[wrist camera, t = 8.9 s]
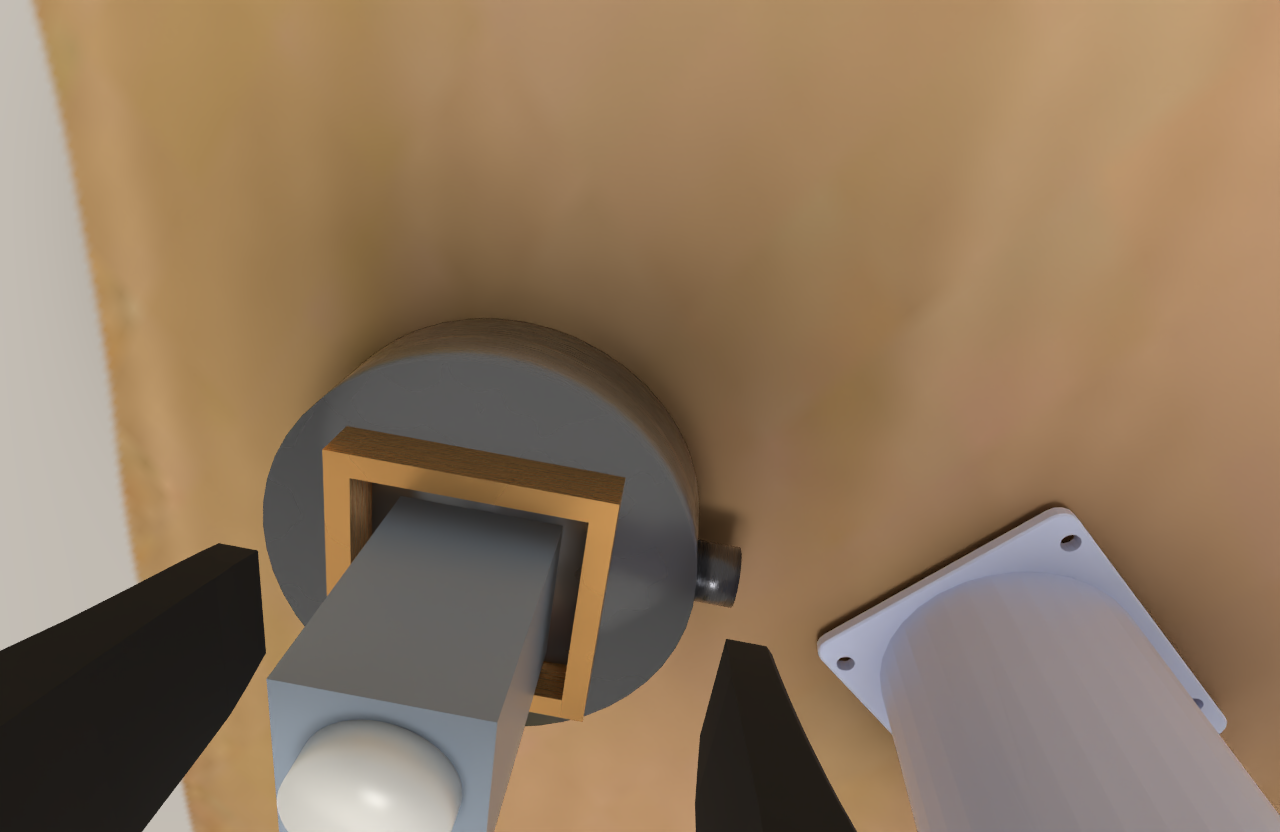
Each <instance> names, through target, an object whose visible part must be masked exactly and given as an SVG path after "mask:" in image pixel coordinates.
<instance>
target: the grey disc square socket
mask: <svg viewBox="0 0 1280 832" xmlns="http://www.w3.org/2000/svg"><path fill="white" fill-rule="evenodd" d="M400 496H403V497H409V498H414V499H419V500H425V501H430V502H436V503H441V504H446V505H452V506H457V507H463V508H468V509H473V510H479V511H484V512H490V513H495V514H500V515H506V516H511V517H517V518H522V519H528V520H533V521H538V522H544V523H549V524H555V525H560V526H563V531H562V538H561V546H560V554H559V561H558V569H557V576H556V584H555V591H554V599H553V606H552V614H551V621H550V629H549V637H548V644H547V651H546V655H545V658H544V662H543V665H542V669H541V672H540V675H539V679H538V682H537V686H536V689H535V693H534V696H533V699H532V703H531V706H530V710H529V713H528V717H527V720H526V723H525V726H538V725H545V724H552V723H558V722H564V721H568V720H575V721H580V722H582V721H583V716H586V715H588V714H591V713H593V712H596V711H598V710H601V709H603V708H606V707H608V706H610V705H612V704H614V703H615V702H617V701H619V700H621V699H623V698H624V697H626V696H628V695H629V694H631V693H632V692H633V691H635V690H636V689H637V688H639V687H640V686H641V685H643V684H644V683H645V682H647V681H648V680H649V679H650V678H651V677H652V676H653V675H654V674H655V673H656V672H657V671H658V670H659V669H660V668H661V667H662V666H663V664H664V663H665V661H666V660H667V659H668V657H669V656H670V655H671V653H672V652H673V651H674V649H675V648H676V646H677V644H678V642H679V640H680V638H681V636H682V634H683V632H684V630H685V629H686V626H687V623H688V620H689V617H690V614H691V610H692V607H693V602H694V601H697V602H703V603H708V604H713V605H719V606H724V607H729V608H731V607H732V606H733V603H734V601H735V597H736V593H737V589H738V584H739V578H740V571H741V558H742V553H741V548H740V547H734V546H729V545H724V544H718V543H713V542H708V541H702V540H698V533H699V491H698V485H697V479H696V473H695V469H694V466H693V463H692V460H691V457H690V453H689V450H688V448H687V446H686V444H685V442H684V440H683V437H682V435H681V433H680V431H679V429H678V427H677V426H676V424H675V423H674V421H673V420H672V418H671V417H670V415H669V413H668V412H667V410H666V409H665V407H664V406H663V405H662V404H661V402H660V401H659V400H658V399H657V398H656V397H655V396H654V394H653V393H652V392H651V391H650V390H649V389H648V387H647V386H646V385H645V384H643V383H642V382H641V381H640V380H639V379H638V378H637V377H636V376H635V375H633V374H632V373H631V372H630V371H629V370H628V369H627V368H625V367H624V366H623V365H621V364H620V363H618V362H617V361H615V360H614V359H612V358H611V357H610V356H608V355H607V354H605V353H604V352H602V351H600V350H598V349H596V348H595V347H593V346H591V345H589V344H587V343H585V342H583V341H581V340H579V339H577V338H575V337H572V336H569V335H567V334H564V333H561V332H559V331H556V330H553V329H550V328H546V327H542V326H538V325H534V324H530V323H526V322H520V321H511V320H503V319H466V320H459V321H452V322H445V323H440V324H437V325H433V326H430V327H426V328H423V329H419V330H417V331H414V332H412V333H410V334H408V335H406V336H403V337H401V338H399V339H397V340H395V341H393V342H392V343H390V344H388V345H387V346H385V347H384V348H382V349H381V350H379V351H378V352H376V353H375V354H373V355H372V356H371V357H370V358H369V359H368V360H366V361H365V362H364V363H363V364H362V365H360V366H359V367H358V368H357V369H356V370H355V371H353V372H352V373H351V374H350V375H349V376H347V377H346V378H345V379H344V380H343V381H341V382H340V383H339V384H338V385H337V386H336V387H334V388H333V389H332V390H331V391H330V392H328V393H327V394H326V395H325V396H324V397H323V398H321V399H320V400H319V401H318V402H317V403H316V404H315V405H314V406H312V407H311V408H310V409H309V410H308V411H307V412H306V413H305V414H303V415H302V416H301V418H300V419H299V420H298V421H297V423H296V424H295V425H294V426H293V428H292V429H291V430H290V431H289V433H288V434H287V435H286V437H285V439H284V441H283V443H282V444H281V446H280V448H279V450H278V452H277V453H276V455H275V458H274V460H273V463H272V466H271V469H270V472H269V475H268V478H267V483H266V489H265V495H264V501H263V527H264V534H265V541H266V547H267V552H268V555H269V558H270V562H271V565H272V568H273V572H274V574H275V576H276V578H277V581H278V583H279V585H280V587H281V590H282V592H283V594H284V596H285V597H286V599H287V601H288V602H289V604H290V606H291V607H292V609H293V611H294V612H295V614H296V616H297V617H298V618H299V619H300V621H301V622H302V623H303V625H304V626H306V625H307V623H308V622H309V620H310V619H311V618H312V616H313V615H314V614H315V612H316V611H317V610H318V608H319V607H320V605H321V604H322V603H323V601H324V600H325V599H326V597H327V596H328V595H329V593H330V592H331V590H332V589H333V588H334V586H335V585H336V584H337V582H338V581H339V580H340V578H341V577H342V575H343V574H344V573H345V571H346V570H347V569H348V567H349V566H350V565H351V563H352V562H353V560H354V559H355V558H356V556H357V555H358V554H359V552H360V551H361V550H362V548H363V547H364V545H365V544H366V543H367V541H368V540H369V539H370V537H371V536H372V535H373V533H374V532H375V530H376V529H377V528H378V526H379V525H380V524H381V522H382V521H383V520H384V518H385V517H386V515H387V514H388V513H389V511H390V510H391V509H392V507H393V506H394V505H395V503H396V502H397V500H398V499H399V498H400Z"/></svg>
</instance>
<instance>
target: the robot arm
mask: <svg viewBox="0 0 1280 832" xmlns="http://www.w3.org/2000/svg"><path fill="white" fill-rule="evenodd" d="M1069 535H1075V536H1074V538H1073V539H1072V540H1071V541H1070V542H1066V543H1061V540H1062V539H1063V538H1065V537H1066V536H1069ZM817 650H818V655H819V657H820V659H821V660H822V661H823V662H824V663H825V664H826V665H827V666H828V667H829V669H830V670H831V671H832V672H833V673H834V674H835V675H836V676H837V677H838V678H839V679H840V680H841V681H842V682H843V683H844V684H845V685H846V686H847V688H848V689H849V690H850V691H851V692H852V693H853V694H854V695H855V696H856V697H857V698H858V699H859V700H860V701H861V702H862V703H863V704H864V706H865V707H866V708H867V709H868V710H869V711H870V712H871V713H872V714H873V715H874V716H875V717H876V718H877V719H878V720H879V721H880V722H881V724H882V725H883V726H884V727H885V728H886V729H887V730H888V731H889V732H890V733H891V734H892V735H893V739H894V743H895V747H896V751H897V754H898V758H899V762H900V766H901V770H902V774H903V778H904V781H905V785H906V789H907V793H908V797H909V801H910V804H911V808H912V812H913V816H914V820H915V824H916V828H917V831H918V832H1280V815H1279V814H1278V813H1277V811H1276V810H1275V809H1274V807H1273V806H1272V805H1271V803H1270V802H1269V801H1268V799H1267V798H1266V797H1265V795H1264V794H1263V792H1262V791H1261V790H1260V788H1259V787H1258V786H1257V784H1256V783H1255V782H1254V780H1253V779H1252V778H1251V776H1250V775H1249V774H1248V772H1247V771H1246V770H1245V768H1244V767H1243V766H1242V764H1241V763H1240V762H1239V760H1238V759H1237V758H1236V756H1235V755H1234V754H1233V752H1232V751H1231V750H1230V748H1229V747H1228V746H1227V744H1226V743H1225V742H1224V740H1223V739H1222V738H1221V736H1220V735H1219V734H1220V733H1221V732H1222V731H1223V730H1224V729H1225V728H1226V725H1227V720H1226V717H1225V716H1224V715H1223V713H1222V712H1221V711H1220V709H1219V708H1218V707H1217V705H1216V704H1215V703H1214V701H1213V700H1212V699H1211V697H1210V696H1209V695H1208V693H1207V692H1206V691H1205V689H1204V688H1203V686H1202V685H1201V684H1200V682H1199V681H1198V680H1197V678H1196V677H1195V676H1194V674H1193V673H1192V672H1191V670H1190V669H1189V668H1188V666H1187V665H1186V664H1185V662H1184V661H1183V660H1182V658H1181V657H1180V656H1179V654H1178V653H1177V651H1176V650H1175V649H1174V647H1173V646H1172V645H1171V643H1170V642H1169V641H1168V639H1167V638H1166V637H1165V635H1164V634H1163V633H1162V631H1161V630H1160V629H1159V627H1158V626H1157V625H1156V623H1155V622H1154V620H1153V619H1152V618H1151V616H1150V615H1149V614H1148V612H1147V611H1146V610H1145V608H1144V607H1143V606H1142V604H1141V603H1140V602H1139V600H1138V599H1137V598H1136V596H1135V595H1134V594H1133V592H1132V591H1131V589H1130V588H1129V587H1128V585H1127V584H1126V583H1125V581H1124V580H1123V579H1122V577H1121V576H1120V575H1119V573H1118V572H1117V571H1116V569H1115V568H1114V567H1113V565H1112V564H1111V563H1110V561H1109V560H1108V558H1107V557H1106V556H1105V554H1104V553H1103V552H1102V550H1101V549H1100V548H1099V546H1098V545H1097V544H1096V542H1095V541H1094V540H1093V538H1092V537H1091V536H1090V534H1089V533H1088V532H1087V530H1086V529H1085V527H1084V526H1083V525H1082V523H1081V522H1080V521H1079V519H1078V518H1077V517H1076V516H1075V514H1074V513H1073V512H1071V511H1070V510H1069V509H1066V508H1063V507H1056V508H1051V509H1049V510H1046V511H1044V512H1043V513H1041V514H1039V515H1037V516H1035V517H1034V518H1032V519H1030V520H1028V521H1026V522H1025V523H1023V524H1021V525H1019V526H1017V527H1016V528H1014V529H1012V530H1010V531H1008V532H1007V533H1005V534H1003V535H1001V536H999V537H998V538H996V539H994V540H992V541H990V542H989V543H987V544H985V545H983V546H981V547H980V548H978V549H976V550H974V551H973V552H971V553H969V554H967V555H965V556H964V557H962V558H960V559H958V560H956V561H955V562H953V563H951V564H949V565H947V566H946V567H944V568H942V569H940V570H938V571H937V572H935V573H933V574H931V575H929V576H928V577H926V578H924V579H922V580H920V581H919V582H917V583H915V584H913V585H912V586H910V587H908V588H906V589H904V590H903V591H901V592H899V593H897V594H895V595H894V596H892V597H890V598H888V599H886V600H885V601H883V602H881V603H879V604H877V605H876V606H874V607H872V608H870V609H868V610H867V611H865V612H863V613H861V614H859V615H858V616H856V617H854V618H852V619H850V620H849V621H847V622H845V623H843V624H842V625H840V626H838V627H836V628H834V629H833V630H831V631H829V632H827V633H825V634H824V635H823V636H821V637H820V638H819V640H818V642H817ZM265 653H266V648H265V636H264V623H263V610H262V598H261V585H260V573H259V560H258V551H257V550H252V549H246V548H241V547H236V546H230V545H225V544H220V543H218V544H216V545H214V546H212V547H210V548H208V549H205V550H203V551H201V552H199V553H197V554H195V555H193V556H191V557H189V558H187V559H185V560H183V561H181V562H179V563H177V564H175V565H173V566H171V567H169V568H167V569H165V570H164V571H162V572H160V573H158V574H156V575H154V576H152V577H150V578H148V579H146V580H144V581H142V582H140V583H138V584H136V585H134V586H133V587H131V588H129V589H127V590H125V591H123V592H121V593H119V594H117V595H115V596H113V597H111V598H109V599H107V600H105V601H103V602H101V603H99V604H97V605H95V606H93V607H91V608H89V609H87V610H85V611H83V612H81V613H79V614H77V615H75V616H73V617H71V618H69V619H68V620H65V621H63V622H61V623H59V624H57V625H55V626H52V627H50V628H48V629H46V630H44V631H42V632H40V633H37V634H35V635H33V636H31V637H29V638H27V639H25V640H23V641H20V642H18V643H16V644H14V645H12V646H10V647H7V648H5V649H3V650H1V651H0V832H142V831H143V830H144V828H145V827H146V826H147V824H148V823H149V822H150V820H151V819H152V818H153V816H154V815H155V814H156V813H157V811H158V810H159V809H160V807H161V806H162V805H163V803H164V802H165V801H166V799H167V798H168V797H169V795H170V794H171V793H172V791H173V790H174V789H175V788H176V786H177V785H178V784H179V782H180V781H181V780H182V778H183V777H184V776H185V774H186V773H187V772H188V770H189V769H190V768H191V767H192V765H193V764H194V763H195V761H196V760H197V759H198V757H199V756H200V755H201V753H202V752H203V751H204V749H205V748H206V747H207V745H208V744H209V743H210V741H211V740H212V739H213V737H214V736H215V735H216V733H217V732H218V731H219V729H220V728H221V726H222V725H223V724H224V722H225V721H226V720H227V718H228V717H229V715H230V714H231V712H232V711H233V709H234V707H235V706H236V704H237V702H238V701H239V699H240V697H241V696H242V694H243V692H244V691H245V689H246V687H247V686H248V684H249V682H250V680H251V679H252V677H253V675H254V673H255V671H256V670H257V668H258V666H259V664H260V662H261V661H262V659H263V657H264V655H265ZM842 657H850V659H849V660H847V661H839V659H840V658H842ZM695 816H696V832H857V831H856V829H855V828H854V826H853V824H852V822H851V821H850V819H849V817H848V815H847V813H846V812H845V810H844V808H843V806H842V805H841V803H840V801H839V799H838V797H837V795H836V793H835V792H834V790H833V788H832V786H831V784H830V782H829V780H828V778H827V776H826V774H825V772H824V770H823V768H822V766H821V764H820V762H819V760H818V758H817V756H816V754H815V752H814V750H813V748H812V746H811V744H810V742H809V740H808V738H807V736H806V734H805V732H804V730H803V728H802V725H801V723H800V721H799V719H798V717H797V714H796V712H795V710H794V708H793V705H792V703H791V701H790V698H789V696H788V694H787V691H786V689H785V687H784V684H783V682H782V679H781V677H780V674H779V672H778V669H777V667H776V664H775V661H774V659H773V656H772V654H771V652H770V651H769V649H768V648H767V647H766V646H761V645H756V644H751V643H745V642H740V641H735V640H729V639H726V642H725V645H724V649H723V653H722V657H721V660H720V664H719V668H718V671H717V675H716V679H715V683H714V686H713V690H712V694H711V697H710V701H709V705H708V709H707V712H706V716H705V720H704V723H703V727H702V731H701V734H700V744H699V757H698V770H697V784H696V799H695Z"/></svg>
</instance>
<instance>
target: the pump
mask: <svg viewBox="0 0 1280 832" xmlns="http://www.w3.org/2000/svg"><path fill="white" fill-rule="evenodd" d="M562 531H563V526H560V525H555V524H549V523H544V522H538V521H533V520H528V519H522V518H517V517H511V516H506V515H500V514H495V513H490V512H484V511H479V510H473V509H468V508H463V507H457V506H452V505H446V504H441V503H436V502H430V501H425V500H419V499H414V498H409V497H403V496H400V498H399V499H398V500H397V502H396V503H395V505H394V506H393V507H392V509H391V510H390V511H389V513H388V514H387V515H386V517H385V518H384V520H383V521H382V522H381V524H380V525H379V526H378V528H377V529H376V530H375V532H374V533H373V535H372V536H371V537H370V539H369V540H368V541H367V543H366V544H365V545H364V547H363V548H362V550H361V551H360V552H359V554H358V555H357V556H356V558H355V559H354V560H353V562H352V563H351V565H350V566H349V567H348V569H347V570H346V571H345V573H344V574H343V575H342V577H341V578H340V580H339V581H338V582H337V584H336V585H335V586H334V588H333V589H332V590H331V592H330V593H329V595H328V596H327V597H326V599H325V600H324V601H323V603H322V604H321V605H320V607H319V608H318V610H317V611H316V612H315V614H314V615H313V616H312V618H311V619H310V620H309V622H308V623H307V625H306V626H305V627H304V629H303V630H302V631H301V633H300V634H299V635H298V637H297V638H296V640H295V641H294V642H293V644H292V645H291V646H290V648H289V649H288V650H287V652H286V653H285V655H284V656H283V657H282V659H281V660H280V661H279V663H278V664H277V665H276V667H275V668H274V670H273V671H272V672H271V674H270V675H269V676H268V678H267V689H268V701H269V713H270V725H271V737H272V750H273V762H274V774H275V786H276V798H277V810H278V822H279V832H494V830H495V826H496V823H497V820H498V816H499V813H500V809H501V806H502V802H503V799H504V796H505V792H506V789H507V785H508V782H509V778H510V775H511V772H512V768H513V765H514V761H515V758H516V754H517V751H518V748H519V744H520V741H521V737H522V734H523V730H524V727H525V723H526V720H527V717H528V713H529V710H530V706H531V703H532V699H533V696H534V693H535V689H536V686H537V682H538V679H539V675H540V672H541V669H542V665H543V662H544V658H545V655H546V651H547V644H548V637H549V629H550V621H551V614H552V606H553V599H554V591H555V584H556V576H557V569H558V561H559V554H560V546H561V538H562Z"/></svg>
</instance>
